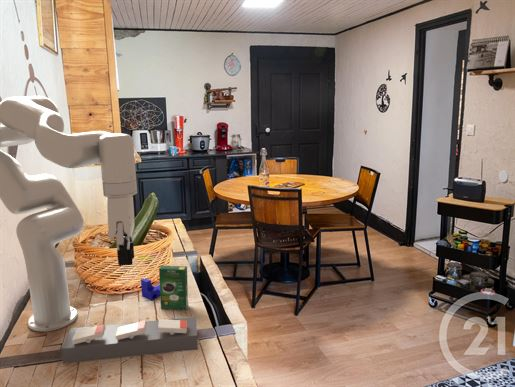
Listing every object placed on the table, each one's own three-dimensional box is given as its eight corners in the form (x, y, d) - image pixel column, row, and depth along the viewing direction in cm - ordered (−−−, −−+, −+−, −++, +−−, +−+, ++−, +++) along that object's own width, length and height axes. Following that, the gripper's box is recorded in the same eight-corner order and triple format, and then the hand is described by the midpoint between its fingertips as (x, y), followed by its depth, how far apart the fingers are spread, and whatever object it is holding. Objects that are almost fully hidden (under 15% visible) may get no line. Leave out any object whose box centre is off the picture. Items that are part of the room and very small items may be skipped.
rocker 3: (158, 325, 110) (159, 318, 110) (185, 326, 111) (186, 320, 111) (157, 333, 106) (158, 326, 106) (185, 335, 107) (186, 328, 107)
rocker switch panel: (72, 342, 112) (70, 327, 111) (196, 330, 117) (196, 315, 116) (63, 363, 103) (60, 347, 102) (197, 349, 108) (197, 334, 107)
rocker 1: (77, 337, 107) (75, 330, 107) (106, 330, 108) (104, 323, 107) (74, 346, 103) (71, 339, 103) (103, 339, 104) (101, 332, 104)
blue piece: (151, 301, 133) (149, 283, 132) (142, 297, 136) (140, 279, 134) (180, 287, 142) (179, 270, 141) (171, 283, 145) (170, 267, 144)
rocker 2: (119, 333, 109) (117, 326, 108) (147, 326, 110) (145, 319, 109) (117, 342, 105) (115, 335, 104) (146, 335, 106) (144, 328, 105)
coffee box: (189, 305, 130) (187, 265, 127) (187, 310, 127) (185, 269, 124) (163, 304, 130) (160, 264, 127) (160, 309, 128) (157, 268, 125)
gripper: (109, 181, 107) (115, 250, 112) (96, 197, 91) (104, 277, 96) (140, 179, 108) (145, 248, 113) (132, 195, 93) (139, 274, 97)
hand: (126, 260), depth 104 cm, fingers open, 3 cm apart
